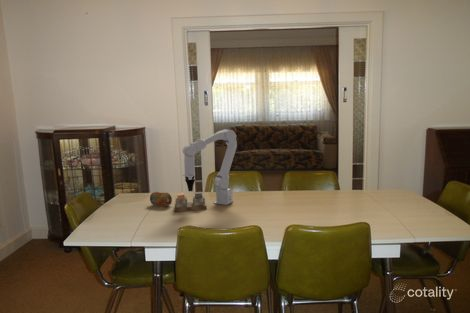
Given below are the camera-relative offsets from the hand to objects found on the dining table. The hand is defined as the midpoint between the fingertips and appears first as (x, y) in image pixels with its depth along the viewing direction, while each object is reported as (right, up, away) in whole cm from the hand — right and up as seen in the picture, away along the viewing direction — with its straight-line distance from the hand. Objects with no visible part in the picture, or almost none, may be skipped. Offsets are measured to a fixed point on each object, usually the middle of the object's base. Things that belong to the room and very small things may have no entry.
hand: (190, 189), depth 206 cm
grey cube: (+5, -6, +1) cm, 8 cm away
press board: (0, -11, +1) cm, 11 cm away
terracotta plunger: (-5, -6, 0) cm, 8 cm away
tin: (-18, -11, +9) cm, 23 cm away
